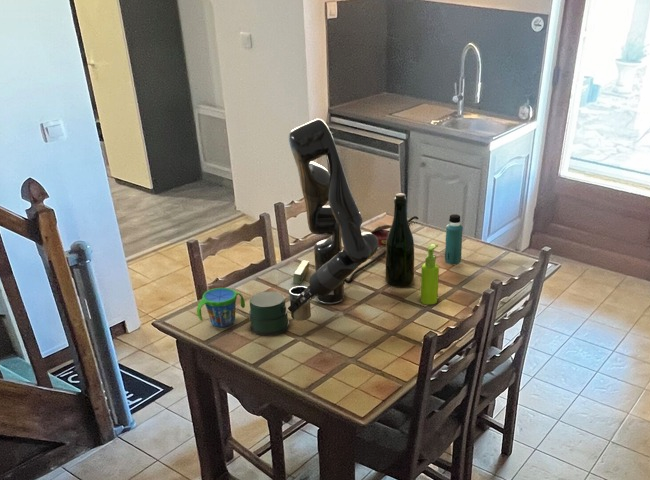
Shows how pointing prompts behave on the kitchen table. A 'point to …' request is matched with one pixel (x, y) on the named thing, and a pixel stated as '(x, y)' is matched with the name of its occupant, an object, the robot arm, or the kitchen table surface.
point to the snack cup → (220, 306)
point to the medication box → (301, 272)
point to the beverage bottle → (453, 240)
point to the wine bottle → (400, 247)
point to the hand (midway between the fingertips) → (295, 305)
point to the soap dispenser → (429, 278)
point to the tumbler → (305, 309)
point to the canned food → (381, 234)
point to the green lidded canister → (268, 314)
